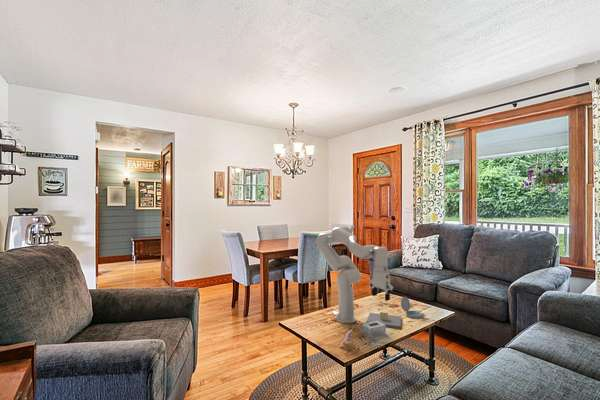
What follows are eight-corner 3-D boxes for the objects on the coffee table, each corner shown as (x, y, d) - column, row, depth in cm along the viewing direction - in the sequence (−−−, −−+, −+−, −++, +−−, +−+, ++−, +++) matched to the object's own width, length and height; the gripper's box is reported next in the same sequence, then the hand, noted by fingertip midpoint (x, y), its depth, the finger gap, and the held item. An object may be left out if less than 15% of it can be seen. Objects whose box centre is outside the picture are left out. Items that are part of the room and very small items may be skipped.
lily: (351, 340, 160) (342, 325, 161) (367, 338, 152) (357, 322, 153) (339, 355, 151) (330, 339, 152) (356, 354, 143) (346, 337, 144)
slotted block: (370, 337, 161) (369, 328, 161) (362, 332, 167) (362, 323, 167) (385, 333, 165) (385, 325, 165) (377, 329, 172) (377, 320, 172)
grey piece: (366, 324, 178) (366, 314, 179) (369, 314, 193) (369, 305, 194) (400, 328, 171) (400, 318, 171) (401, 318, 186) (401, 309, 186)
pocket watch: (407, 294, 200) (428, 300, 188) (407, 310, 200) (428, 317, 188) (399, 298, 194) (420, 303, 182) (399, 314, 194) (420, 321, 182)
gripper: (397, 270, 162) (397, 301, 162) (374, 264, 177) (374, 292, 176) (388, 272, 158) (388, 303, 158) (365, 266, 173) (365, 295, 172)
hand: (380, 297), depth 167 cm, fingers open, 9 cm apart
